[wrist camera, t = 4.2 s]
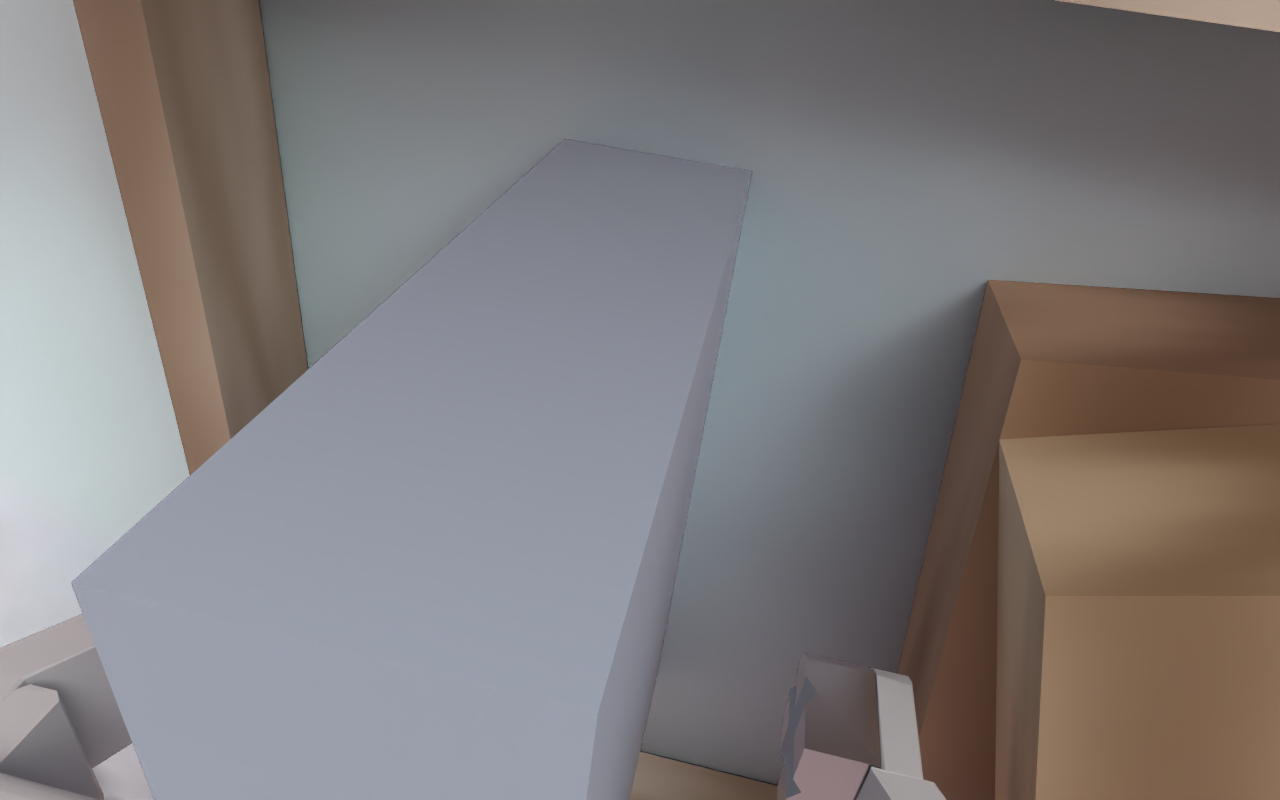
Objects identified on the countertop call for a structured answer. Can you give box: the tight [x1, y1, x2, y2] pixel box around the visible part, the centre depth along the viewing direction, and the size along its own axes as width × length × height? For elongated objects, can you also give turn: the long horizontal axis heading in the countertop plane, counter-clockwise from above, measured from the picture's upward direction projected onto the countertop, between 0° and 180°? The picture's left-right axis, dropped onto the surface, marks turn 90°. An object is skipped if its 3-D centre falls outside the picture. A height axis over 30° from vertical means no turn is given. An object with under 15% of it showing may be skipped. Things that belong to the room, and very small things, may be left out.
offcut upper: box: [995, 424, 1280, 800], centre depth 11 cm, size 4×9×3 cm, turn 12°
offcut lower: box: [897, 280, 1280, 800], centre depth 14 cm, size 5×11×3 cm, turn 0°
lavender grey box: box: [71, 139, 752, 800], centre depth 12 cm, size 3×12×10 cm, turn 173°
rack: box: [73, 0, 1280, 800], centre depth 13 cm, size 22×21×6 cm
